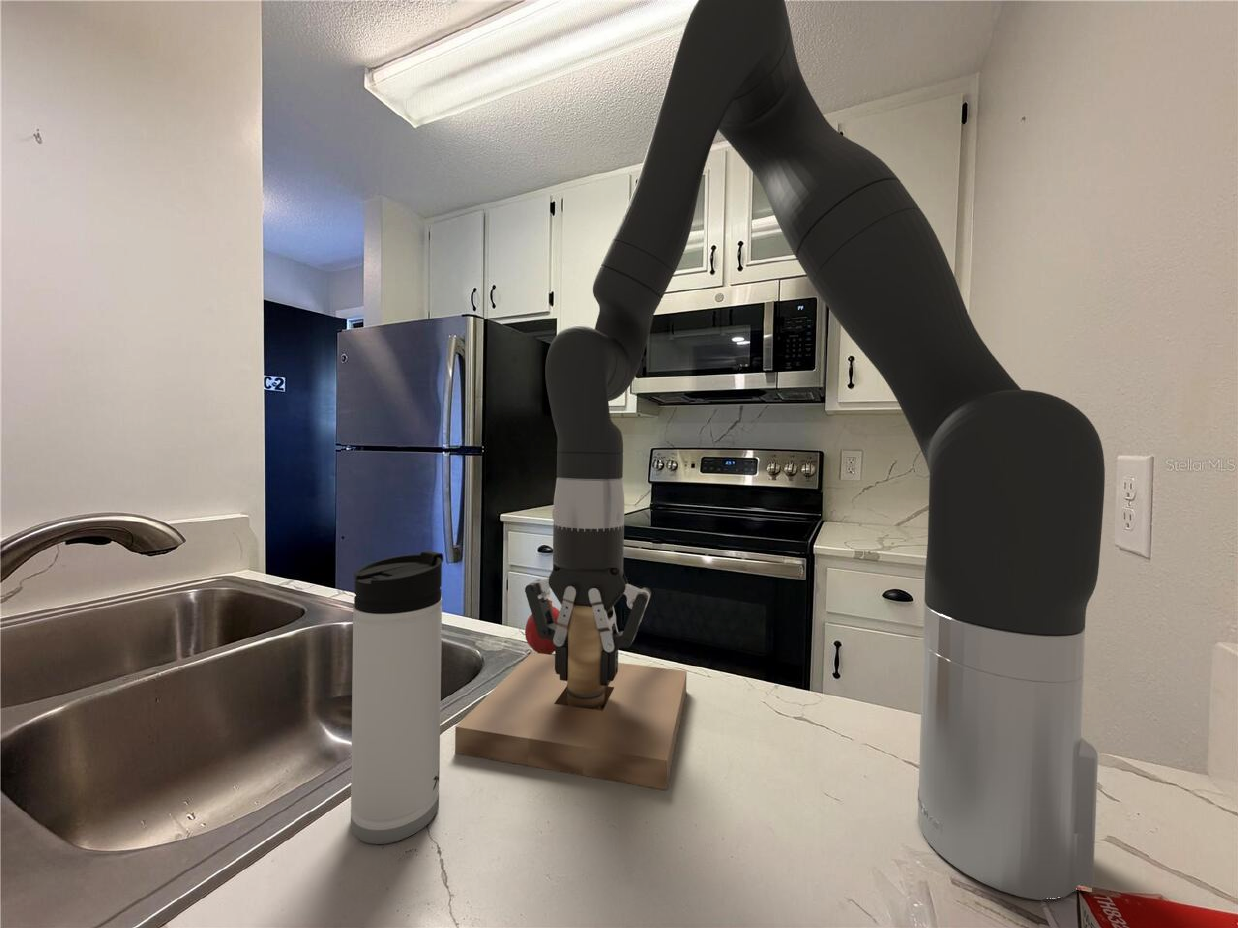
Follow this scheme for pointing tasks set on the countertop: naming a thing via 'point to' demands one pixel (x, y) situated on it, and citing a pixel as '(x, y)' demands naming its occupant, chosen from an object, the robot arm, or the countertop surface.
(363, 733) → the travel mug
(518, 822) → the countertop surface
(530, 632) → the red egg-shaped piece
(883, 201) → the robot arm
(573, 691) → the oak peg
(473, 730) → the walnut board
